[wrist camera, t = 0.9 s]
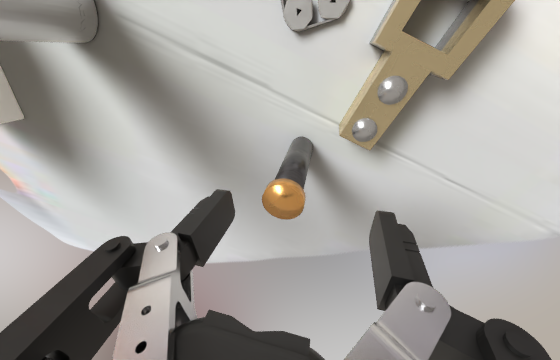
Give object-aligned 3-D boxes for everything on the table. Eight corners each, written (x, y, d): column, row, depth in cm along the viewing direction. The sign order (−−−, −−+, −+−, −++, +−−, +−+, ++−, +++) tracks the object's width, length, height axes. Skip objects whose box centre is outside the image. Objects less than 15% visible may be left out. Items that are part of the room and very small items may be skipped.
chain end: (326, 118, 27) (325, 130, 23) (424, -56, 17) (447, -83, 14) (377, 144, 27) (384, 158, 24) (501, -15, 18) (543, -31, 14)
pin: (284, 152, 31) (256, 207, 20) (295, 129, 29) (270, 178, 18) (307, 163, 31) (292, 225, 20) (320, 141, 29) (311, 197, 18)
